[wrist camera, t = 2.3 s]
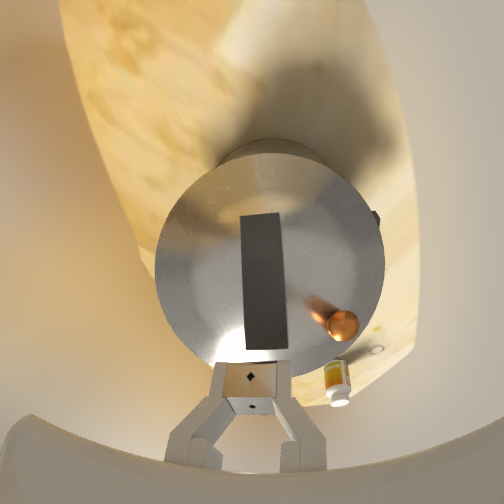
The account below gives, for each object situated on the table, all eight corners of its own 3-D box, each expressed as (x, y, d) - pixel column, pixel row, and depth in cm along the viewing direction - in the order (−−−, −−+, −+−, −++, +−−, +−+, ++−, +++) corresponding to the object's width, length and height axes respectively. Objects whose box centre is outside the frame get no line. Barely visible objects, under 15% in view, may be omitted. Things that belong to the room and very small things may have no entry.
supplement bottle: (319, 369, 57) (322, 407, 49) (331, 357, 54) (335, 397, 46) (339, 372, 58) (343, 408, 50) (351, 360, 55) (357, 398, 47)
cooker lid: (169, 178, 23) (151, 157, 19) (358, 157, 21) (365, 131, 17) (166, 373, 19) (142, 380, 15) (386, 363, 17) (404, 371, 13)
